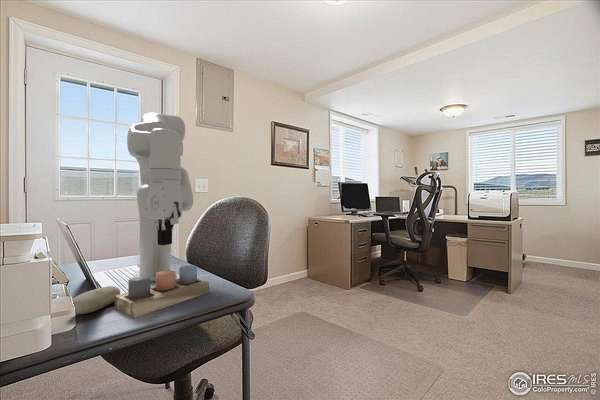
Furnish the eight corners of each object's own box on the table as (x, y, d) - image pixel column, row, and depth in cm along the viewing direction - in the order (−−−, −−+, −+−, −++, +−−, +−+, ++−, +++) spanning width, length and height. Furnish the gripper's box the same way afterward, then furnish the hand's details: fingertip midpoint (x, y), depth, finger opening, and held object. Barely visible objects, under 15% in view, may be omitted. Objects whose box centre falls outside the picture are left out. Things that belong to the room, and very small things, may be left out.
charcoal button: (124, 295, 71) (124, 279, 71) (143, 290, 75) (144, 275, 75) (134, 299, 68) (134, 283, 68) (154, 294, 72) (154, 278, 72)
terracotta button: (152, 287, 77) (152, 273, 77) (168, 283, 81) (168, 269, 81) (162, 291, 74) (162, 276, 74) (179, 286, 78) (179, 272, 78)
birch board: (114, 307, 72) (114, 295, 71) (188, 285, 89) (188, 276, 89) (135, 317, 66) (135, 305, 66) (209, 292, 84) (209, 282, 84)
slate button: (175, 281, 83) (175, 267, 83) (190, 277, 87) (190, 264, 87) (186, 284, 80) (186, 270, 80) (200, 280, 84) (200, 266, 84)
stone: (129, 290, 77) (93, 292, 65) (117, 313, 75) (78, 319, 64) (112, 281, 78) (74, 282, 66) (100, 304, 77) (59, 309, 65)
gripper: (136, 176, 77) (136, 243, 78) (168, 175, 69) (167, 250, 70) (163, 177, 84) (162, 239, 84) (194, 176, 75) (194, 245, 76)
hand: (164, 244), depth 77 cm, fingers closed
